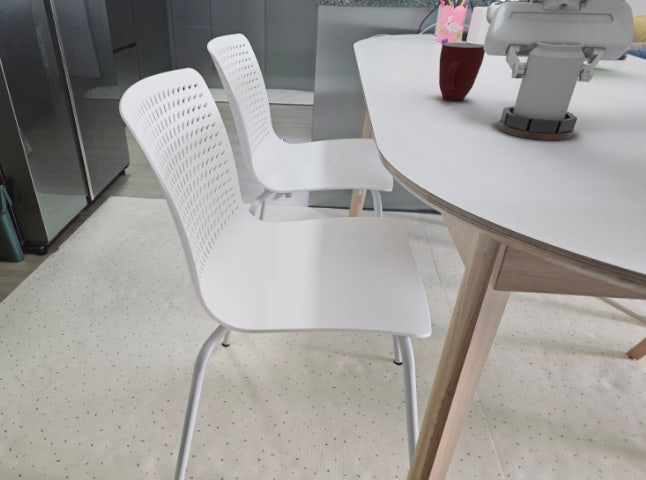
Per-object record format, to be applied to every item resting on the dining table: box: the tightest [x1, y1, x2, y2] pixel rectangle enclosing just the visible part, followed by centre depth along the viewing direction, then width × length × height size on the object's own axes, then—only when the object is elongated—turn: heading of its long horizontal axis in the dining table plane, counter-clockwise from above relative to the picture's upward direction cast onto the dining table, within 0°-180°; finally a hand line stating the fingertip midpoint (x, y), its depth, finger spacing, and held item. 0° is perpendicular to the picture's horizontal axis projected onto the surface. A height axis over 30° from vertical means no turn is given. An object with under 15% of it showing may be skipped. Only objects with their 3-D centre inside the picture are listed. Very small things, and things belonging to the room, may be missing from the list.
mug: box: [438, 42, 486, 102], centre depth 92 cm, size 10×8×10 cm
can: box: [513, 41, 585, 120], centre depth 72 cm, size 8×8×12 cm
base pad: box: [497, 105, 578, 141], centre depth 75 cm, size 11×11×3 cm
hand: (551, 77), depth 71 cm, fingers open, 8 cm apart
